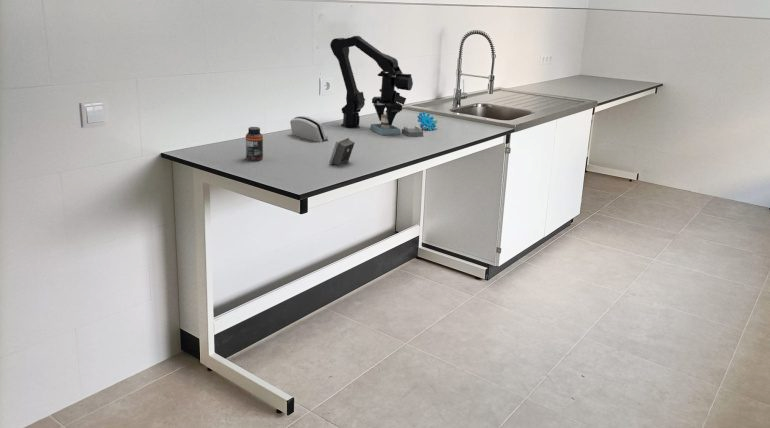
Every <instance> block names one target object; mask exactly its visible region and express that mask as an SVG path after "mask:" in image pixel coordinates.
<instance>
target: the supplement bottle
mask: <svg viewBox="0 0 770 428" xmlns="http://www.w3.org/2000/svg"><path fill="white" fill-rule="evenodd" d="M263 138H264V137H263V134H262V133H261V128H260V127H258V126H249V127H248V132H247V133H246V134H245V159H246V160H248V161H251V162H252V161H254V162H259V161H261V160H263V158H264V139H263Z"/></svg>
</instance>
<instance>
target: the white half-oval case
mask: <svg viewBox="0 0 770 428" xmlns="http://www.w3.org/2000/svg"><path fill="white" fill-rule="evenodd" d="M289 121H290V122H289V124H290V130H291V135H293V136H297V137H300V138H304V139H307V140H311V141H315V142H319V143H322V142H323V141H327V142H329V137H328V136H327V135H326V134H325V130H324V127H323V124H322V123H321V122H320V121H319V120H316V119H315V118H312V117H310V116H305V115H300V116H299V115H298V116H295V117H293V118H292V119H291V120H289Z"/></svg>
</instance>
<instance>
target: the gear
mask: <svg viewBox="0 0 770 428" xmlns="http://www.w3.org/2000/svg"><path fill="white" fill-rule="evenodd" d="M417 118H418V119H417V122H418V123H420V124H419V127H420V128H422V129H424V130H427V131H428V132H431V131H435V129H436V127H437V123H438V119H435V117H434V116H432V115H431V113H430V112H426V111H422V112H419V113H418V115H417Z"/></svg>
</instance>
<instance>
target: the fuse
mask: <svg viewBox="0 0 770 428" xmlns="http://www.w3.org/2000/svg"><path fill="white" fill-rule="evenodd" d="M380 124H381V129H390V125H389V124H388V119H387V114H386V113H384V114H382V115H381V121H380Z"/></svg>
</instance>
